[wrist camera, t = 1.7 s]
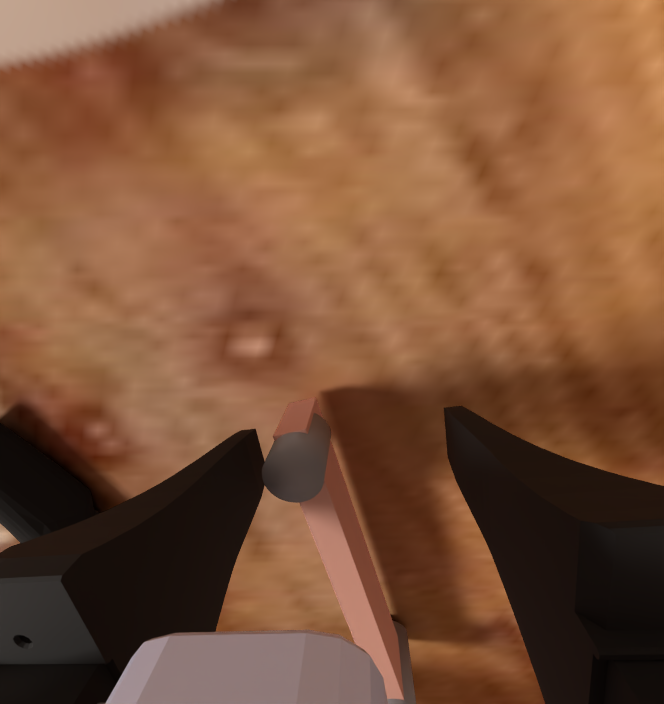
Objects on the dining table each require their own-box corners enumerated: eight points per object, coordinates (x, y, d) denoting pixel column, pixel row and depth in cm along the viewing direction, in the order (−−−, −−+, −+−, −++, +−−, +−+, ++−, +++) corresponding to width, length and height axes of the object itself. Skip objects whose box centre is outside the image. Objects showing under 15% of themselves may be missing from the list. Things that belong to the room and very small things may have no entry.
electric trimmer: (10, 383, 16) (-75, 413, 13) (205, 586, 18) (174, 651, 15) (-30, 418, 17) (-118, 453, 14) (162, 607, 19) (124, 671, 16)
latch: (410, 642, 18) (425, 756, 14) (376, 646, 18) (381, 758, 14) (326, 387, 13) (312, 443, 9) (284, 398, 14) (252, 456, 10)
